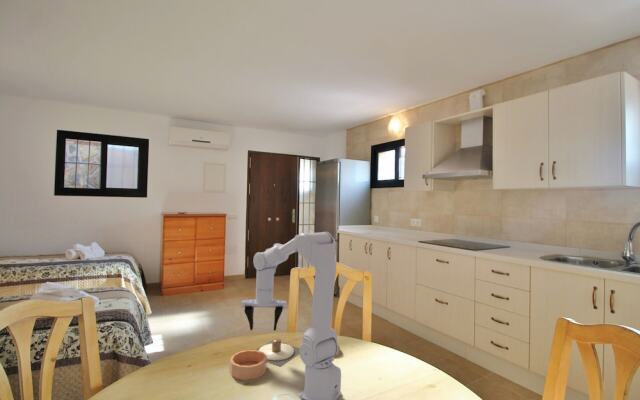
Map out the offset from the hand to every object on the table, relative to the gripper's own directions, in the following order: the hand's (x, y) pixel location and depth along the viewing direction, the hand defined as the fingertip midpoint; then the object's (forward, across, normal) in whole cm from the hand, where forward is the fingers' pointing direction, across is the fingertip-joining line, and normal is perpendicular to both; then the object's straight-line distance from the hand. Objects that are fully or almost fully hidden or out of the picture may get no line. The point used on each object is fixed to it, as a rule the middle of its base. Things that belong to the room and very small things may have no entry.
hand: (263, 329), depth 108 cm
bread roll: (+10, -22, -5) cm, 25 cm away
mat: (+10, -4, -4) cm, 11 cm away
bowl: (+10, +3, +8) cm, 13 cm away
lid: (+9, -4, -4) cm, 11 cm away
